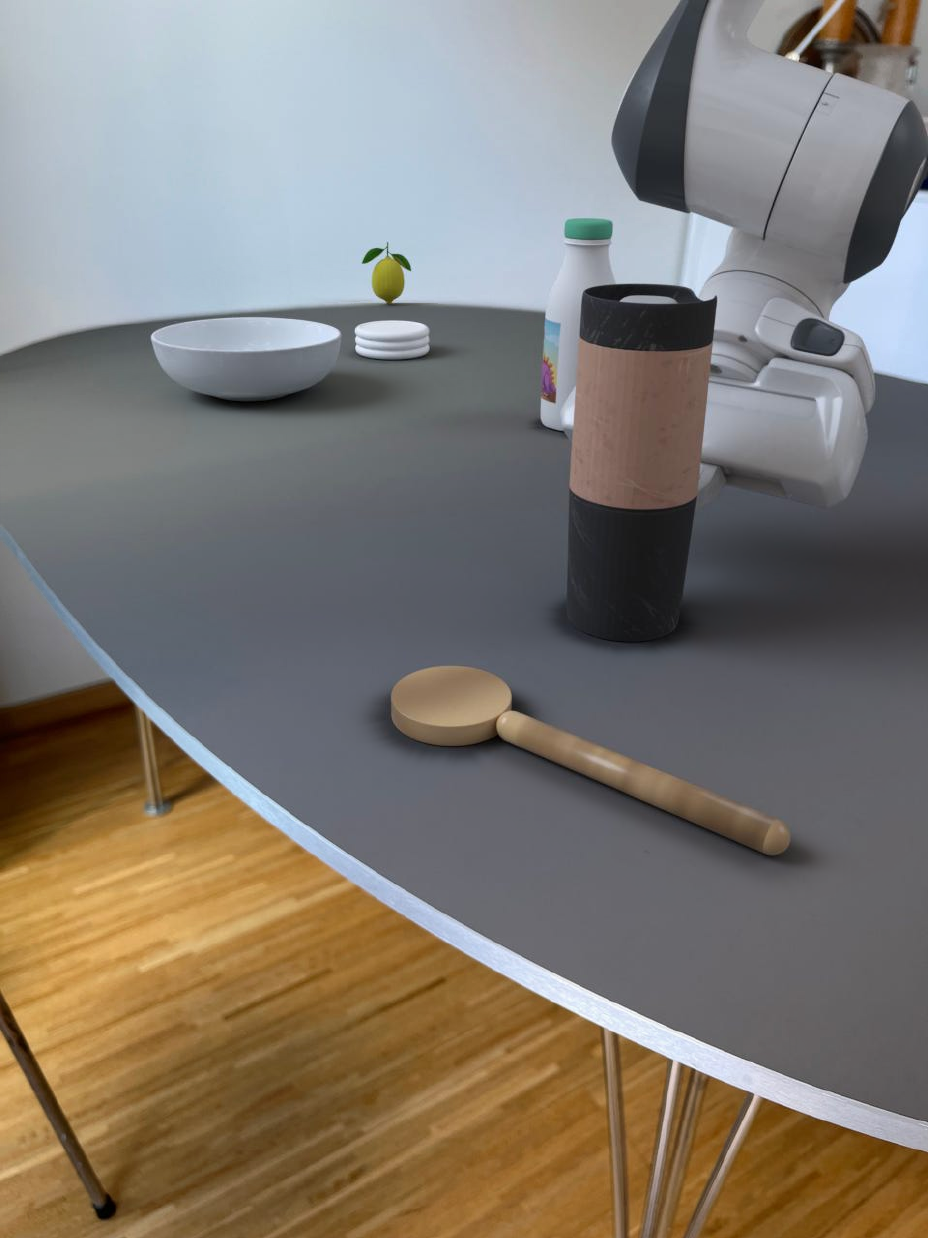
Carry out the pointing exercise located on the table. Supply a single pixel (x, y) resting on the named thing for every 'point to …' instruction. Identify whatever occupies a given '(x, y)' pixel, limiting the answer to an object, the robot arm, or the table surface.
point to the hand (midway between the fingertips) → (656, 526)
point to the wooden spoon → (563, 750)
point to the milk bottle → (571, 310)
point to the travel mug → (636, 456)
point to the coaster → (392, 340)
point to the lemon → (387, 274)
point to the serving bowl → (247, 355)
